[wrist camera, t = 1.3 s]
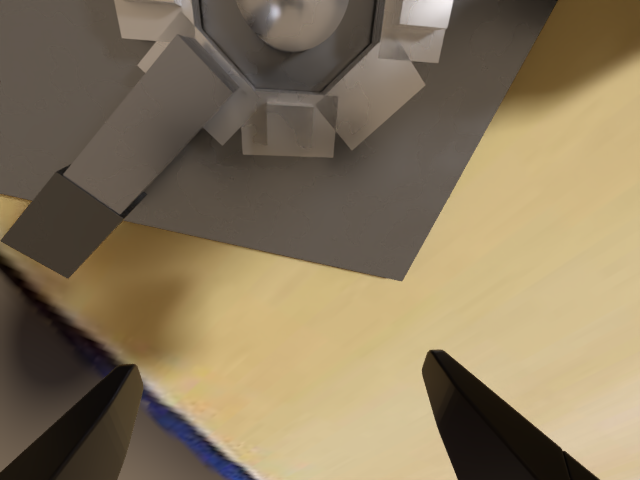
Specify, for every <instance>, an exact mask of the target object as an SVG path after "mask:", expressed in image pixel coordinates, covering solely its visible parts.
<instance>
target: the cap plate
mask: <svg viewBox="0 0 640 480" xmlns="http://www.w3.org/2000/svg"><path fill="white" fill-rule="evenodd" d="M557 1H558V0H453V4H452V9H451V14H450V18H449V23H448V27H447V29H446V30H445V34H444V39H443V44H442V48H441V53H440V57H439V62H438V63H421V62H412V64H413V65H414V67H415V69H416V70H417V72H418V73H419V75H420V77H421V78H422V80H423V82H424V83H425V86H424V87H423V88H422V89H421V90H420V91H418V92H417V93H416V94H415V95H414V96H413V97H412V98H411V99H409V100H408V101H407V102H406V103H405V104H404V105H403V106H402V107H400V108H399V109H398V110H397V111H396V112H395V113H394V114H393V115H391V116H390V117H389V118H388V119H387V120H386V121H385V122H384V123H382V124H381V125H380V126H379V127H378V128H377V129H376V130H375V131H373V132H372V133H371V134H370V135H369V136H368V137H367V138H366V139H364V140H363V141H362V142H361V143H360V144H359V145H358V146H357V147H355V148H354V149H353V150H351V149H350V148H349V147H348V145H347V144H346V143H345V142H344V141H343V139H342V138H341V137H340V136H339V134H338V133H337V132H336V131H335V142H334V154H333V158H329V157H300V156H271V155H243V151H242V133H241V127H240V128H239V129H238V130H237V131H236V132H235V133H234V134H233V135H232V136H231V137H230V138H229V139H228V141H227V142H226V143H225V144H224V145H223V146H222V145H221V144H220V143H219V142H218V141H217V140H216V139H215V138H214V137H213V136H211V135H210V134H209V133H208V132H207V131H206V130H205V129H204V128H202V129H201V130H200V131H199V132H198V133H197V134H196V135H195V136H194V137H193V139H192V140H191V141H190V142H189V143H188V144H187V145H186V146H185V147H184V148H183V149H182V150H181V152H180V153H179V154H178V155H177V156H176V157H175V158H174V159H173V160H172V161H171V162H170V163H169V164H168V166H167V167H166V168H165V169H164V170H163V171H162V172H161V173H160V174H159V175H158V176H157V177H156V178H155V180H154V181H153V182H152V183H151V184H150V185H149V186H148V187H147V188H146V189H145V190H144V192H145V193H146V194H147V195H146V196H145V198H144V199H143V200H142V201H141V202H140V203H139V204H138V205H137V206H136V207H135V208H134V209H133V210H132V211H131V212H130V214H129V215H128V216H127V217H126V218H125V219H124V220H123V221H128V222H133V223H137V224H142V225H146V226H151V227H155V228H160V229H165V230H169V231H174V232H178V233H183V234H188V235H192V236H197V237H201V238H206V239H210V240H215V241H220V242H224V243H229V244H233V245H238V246H242V247H247V248H252V249H256V250H261V251H265V252H270V253H275V254H279V255H284V256H288V257H293V258H297V259H302V260H307V261H311V262H316V263H320V264H325V265H330V266H334V267H339V268H343V269H348V270H352V271H357V272H362V273H366V274H371V275H375V276H380V277H384V278H389V279H394V280H398V281H403V279H404V277H405V275H406V274H407V272H408V270H409V268H410V266H411V265H412V263H413V261H414V259H415V257H416V255H417V254H418V252H419V250H420V248H421V246H422V245H423V243H424V241H425V239H426V237H427V236H428V234H429V232H430V230H431V228H432V227H433V225H434V223H435V221H436V219H437V218H438V216H439V214H440V212H441V210H442V209H443V207H444V205H445V203H446V201H447V199H448V198H449V196H450V194H451V192H452V190H453V189H454V187H455V185H456V183H457V181H458V180H459V178H460V176H461V174H462V172H463V171H464V169H465V167H466V165H467V163H468V162H469V160H470V158H471V156H472V154H473V153H474V151H475V149H476V147H477V145H478V143H479V142H480V140H481V138H482V136H483V134H484V133H485V131H486V129H487V127H488V125H489V124H490V122H491V120H492V118H493V116H494V115H495V113H496V111H497V109H498V107H499V106H500V104H501V102H502V100H503V98H504V97H505V95H506V93H507V91H508V89H509V87H510V86H511V84H512V82H513V80H514V78H515V77H516V75H517V73H518V71H519V69H520V68H521V66H522V64H523V62H524V60H525V59H526V57H527V55H528V53H529V51H530V50H531V48H532V46H533V44H534V42H535V41H536V39H537V37H538V35H539V33H540V31H541V30H542V28H543V26H544V24H545V22H546V21H547V19H548V17H549V15H550V13H551V12H552V10H553V8H554V6H555V4H556V3H557ZM376 4H377V0H199V7H200V18H201V28H202V29H203V31H204V32H205V33H206V34H207V35H208V36H209V37H210V38H211V39H212V41H213V42H214V43H215V44H216V45H217V46H218V47H219V48H220V49H221V51H222V52H223V53H224V54H225V55H226V56H227V57H228V58H229V59H230V61H231V62H232V63H233V64H234V65H235V66H236V67H237V68H238V69H239V71H240V72H241V73H242V74H243V75H244V76H245V77H246V78H247V79H248V81H249V82H250V83H251V84H252V85H253V86H254V87H255V88H256V89H272V90H288V91H304V92H320V93H321V92H322V91H323V90H324V89H325V88H326V87H327V86H328V85H329V84H330V83H331V82H332V81H333V80H334V79H335V78H336V77H337V76H339V75H340V74H341V73H342V72H343V71H344V70H345V69H346V68H347V67H348V66H349V65H350V64H351V63H352V62H353V61H354V60H355V59H356V58H357V57H358V56H359V55H360V54H361V53H362V52H363V51H364V50H365V49H366V48H367V47H368V46H369V45H370V44H371V43H372V37H373V28H374V20H375V12H376ZM154 44H155V42H154V41H141V40H131V39H124V38H122V37H121V32H120V27H119V22H118V17H117V12H116V7H115V2H114V0H0V194H4V195H9V196H13V197H18V198H23V199H27V200H32V201H33V200H34V198H35V197H36V196H37V195H38V193H39V192H40V191H41V190H42V188H43V187H44V186H45V185H46V183H47V182H48V181H49V180H50V178H51V177H52V176H53V175H54V173H55V172H56V171H58V170H60V169H62V168H64V167H66V166H68V165H70V164H72V163H73V162H74V160H75V159H76V158H77V157H78V155H79V154H80V153H81V152H82V151H83V149H84V148H85V147H86V146H87V144H88V143H89V142H90V141H91V139H92V138H93V137H94V136H95V135H96V133H97V132H98V131H99V130H100V128H101V127H102V126H103V125H104V123H105V122H106V121H107V120H108V119H109V117H110V116H111V115H112V114H113V112H114V111H115V110H116V109H117V107H118V106H119V105H120V104H121V103H122V101H123V100H124V99H125V98H126V96H127V95H128V94H129V93H130V91H131V90H132V89H133V88H134V87H135V85H136V84H137V83H138V82H139V80H140V79H141V78H142V77H143V75H144V74H145V72H144V71H143V70H142V69H140V68H139V67H138V66H137V65H138V64H139V62H140V61H141V60H142V59H143V57H144V56H145V55H146V54H147V52H148V51H149V50H150V49H151V47H152V46H153V45H154Z"/></svg>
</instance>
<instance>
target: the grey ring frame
mask: <svg viewBox="0 0 640 480" xmlns="http://www.w3.org/2000/svg"><path fill="white" fill-rule="evenodd" d="M114 2H115V7H116V12H117V17H118V22H119V27H120V32H121V37H122V38H124V39H131V40H141V41H154V42H155V44H154V45H153V46H152V47H151V49H150V50H149V51H148V52H147V54H146V55H145V56H144V57H143V59H142V60H141V61H140V62H139V64H138V65H137V66H138V67H139V68H140V69H142V70H143V71H144V72H145V74H144V75H143V77H142V78H141V79H140V80H139V82H138V83H137V84H136V85H135V87H134V88H133V89H132V90H131V91H130V93H129V94H128V95H127V96H126V98H125V99H124V100H123V101H122V103H121V104H120V105H119V106H118V107H117V109H116V110H115V111H114V112H113V114H112V115H111V116H110V117H109V119H108V120H107V121H106V122H105V123H104V125H103V126H102V127H101V128H100V130H99V131H98V132H97V133H96V135H95V136H94V137H93V138H92V139H91V141H90V142H89V143H88V144H87V146H86V147H85V148H84V149H83V151H82V152H81V153H80V154H79V155H78V157H77V158H76V159H75V160H74V162H73V163H72V164H70V165H68V166H66V167H64V168H62V169H60V170H58V171H56V172H55V173H54V175H53V176H52V177H51V178H50V180H49V181H48V182H47V183H46V185H45V186H44V187H43V188H42V190H41V191H40V192H39V193H38V195H37V196H36V197H35V198H34V200H33V201H32V202H31V203H30V205H29V206H28V207H27V208H26V210H25V211H24V212H23V213H22V215H21V216H20V217H19V218H18V220H17V221H16V222H15V223H14V225H13V226H12V227H11V228H10V230H9V231H8V232H7V233H6V235H5V236H4V237H3V238H2V240H1V242H3V243H5V244H7V245H8V246H10V247H12V248H14V249H16V250H17V251H19V252H21V253H23V254H25V255H26V256H28V257H30V258H32V259H34V260H35V261H37V262H39V263H41V264H42V265H44V266H46V267H48V268H50V269H51V270H53V271H55V272H57V273H59V274H60V275H62V276H64V277H66V278H69V277H70V276H71V275H72V274H73V273H74V272H75V271H76V270H77V269H78V268H79V267H80V266H81V265H82V264H83V262H84V261H85V260H86V259H87V258H88V257H89V256H90V255H91V254H92V253H93V252H94V251H95V250H96V249H97V248H98V247H99V246H100V245H101V244H102V242H103V241H104V240H105V239H106V238H107V237H108V236H109V235H110V234H111V233H112V232H113V231H114V230H115V229H116V227H117V226H118V225H119V224H120V223H121V222H122V221H123V220H124V219H125V218H126V217H127V216H128V215H129V214H130V212H131V211H132V210H133V209H134V208H135V207H136V206H137V205H138V204H139V203H140V202H141V201H142V200H143V199H144V198H145V196H146V195H147V194H146V193H145V192H144V190H145V189H146V188H147V187H148V186H149V185H150V184H151V183H152V182H153V181H154V180H155V178H156V177H157V176H158V175H159V174H160V173H161V172H162V171H163V170H164V169H165V168H166V167H167V166H168V164H169V163H170V162H171V161H172V160H173V159H174V158H175V157H176V156H177V155H178V154H179V153H180V152H181V150H182V149H183V148H184V147H185V146H186V145H187V144H188V143H189V142H190V141H191V140H192V139H193V137H194V136H195V135H196V134H197V133H198V132H199V131H200V130H201V129H202V128H204V129H205V130H206V131H207V132H208V133H209V134H210V135H211V136H213V137H214V138H215V139H216V140H217V141H218V142H219V143H220V144H221V145H222V146H223V145H224V144H225V143H226V142H227V141H228V139H229V138H230V137H231V136H232V135H233V134H234V133H235V132H236V131H237V130H238V129H239V128H240V127H241V133H242V151H243V155H271V156H300V157H329V158H333V154H334V142H335V131H336V132H337V133H338V134H339V136H340V137H341V138H342V139H343V141H344V142H345V143H346V144H347V145H348V147H349V148H350V149H351V150H353V149H354V148H355V147H357V146H358V145H359V144H360V143H361V142H362V141H363V140H364V139H366V138H367V137H368V136H369V135H370V134H371V133H372V132H373V131H375V130H376V129H377V128H378V127H379V126H380V125H381V124H382V123H384V122H385V121H386V120H387V119H388V118H389V117H390V116H391V115H393V114H394V113H395V112H396V111H397V110H398V109H399V108H400V107H402V106H403V105H404V104H405V103H406V102H407V101H408V100H409V99H411V98H412V97H413V96H414V95H415V94H416V93H417V92H418V91H420V90H421V89H422V88H423V87H424V86H425V83H424V82H423V80H422V78H421V77H420V75H419V73H418V72H417V70H416V69H415V67H414V65H413V64H412V62H421V63H438V62H439V57H440V53H441V48H442V44H443V39H444V34H445V30H446V29H447V27H448V23H449V18H450V14H451V9H452V4H453V0H377V4H376V12H375V20H374V28H373V37H372V43H371V44H370V45H369V46H368V47H367V48H366V49H365V50H364V51H363V52H362V53H361V54H360V55H359V56H358V57H357V58H356V59H355V60H354V61H353V62H352V63H351V64H350V65H349V66H348V67H347V68H346V69H345V70H344V71H343V72H342V73H341V74H340V75H339V76H337V77H336V78H335V79H334V80H333V81H332V82H331V83H330V84H329V85H328V86H327V87H326V88H325V89H324V90H323V91H322V92H321V93H320V92H304V91H288V90H272V89H256V88H255V87H254V86H253V85H252V84H251V83H250V82H249V81H248V79H247V78H246V77H245V76H244V75H243V74H242V73H241V72H240V71H239V69H238V68H237V67H236V66H235V65H234V64H233V63H232V62H231V61H230V59H229V58H228V57H227V56H226V55H225V54H224V53H223V52H222V51H221V49H220V48H219V47H218V46H217V45H216V44H215V43H214V42H213V41H212V39H211V38H210V37H209V36H208V35H207V34H206V33H205V32H204V31H203V29H202V28H201V18H200V7H199V0H114Z"/></svg>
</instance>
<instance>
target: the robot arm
mask: <svg viewBox="0 0 640 480" xmlns="http://www.w3.org/2000/svg"><path fill="white" fill-rule="evenodd" d="M422 375H423V379H424V383H425V386H426V390H427V393H428V397H429V400H430V404H431V407H432V410H433V414H434V417H435V421H436V424H437V427H438V430H439V433H440V435H441V438H442V440H443V443H444V446H445V448H446V451H447V453H448V456H449V458H450V461H451V463H452V466H453V468H454V471H455V473H456V476H457V478H458V480H600V479H599V478H597V477H596V476H595V475H594V474H592V473H591V472H590V471H589V470H587V469H586V468H585V467H584V466H582V465H581V464H580V463H579V462H578V461H576V460H575V459H574V458H573V457H571V456H570V455H569V454H568V453H567V452H565V451H562V449H561V447H559V446H558V445H557V444H556V443H554V442H553V441H552V440H551V439H550V438H548V437H547V436H546V435H545V434H544V433H542V432H541V431H540V430H539V429H538V428H536V427H535V426H534V425H533V424H532V423H530V422H529V421H528V420H527V419H526V418H524V417H523V416H522V415H521V414H520V413H518V412H517V411H516V410H515V409H514V408H512V407H511V406H510V405H509V404H508V403H506V402H505V401H504V400H503V399H502V398H500V397H499V396H498V395H497V394H496V393H494V392H493V391H492V390H491V389H490V388H488V387H487V386H486V385H485V384H483V383H482V382H481V381H480V380H479V379H477V378H476V377H475V376H474V375H473V374H471V373H470V372H469V371H468V370H467V369H465V368H464V367H463V366H462V365H461V364H459V363H458V362H457V361H456V360H455V359H453V358H452V357H451V356H450V355H449V354H447V353H446V352H445V351H443V350H429V351H428V353H427V355H426V358H425V361H424V364H423V367H422ZM142 392H143V382H142V379H141V376H140V372H139V369H138V367H137V365H136V364H122V365H119V366H117V367H116V368H115V369H114V370H112V371H111V372H110V373H109V374H108V375H107V376H106V377H105V378H104V379H103V380H101V381H100V382H99V383H98V384H97V385H96V386H95V387H94V388H93V389H92V390H91V391H89V392H88V393H87V394H86V395H85V396H84V397H83V398H82V399H81V400H80V401H79V402H77V403H76V404H75V405H74V406H73V407H72V408H71V409H70V410H69V411H67V412H66V413H65V414H64V415H63V416H62V417H61V418H60V419H59V420H57V422H55V423H54V424H53V425H52V426H51V427H50V428H49V429H48V430H47V431H45V432H44V433H43V434H42V435H41V436H40V437H39V438H38V439H37V440H35V441H34V442H33V443H32V444H31V445H30V446H29V447H28V448H27V449H26V450H24V451H23V452H22V453H21V454H20V455H19V456H18V457H17V458H16V459H15V460H13V461H12V463H10V464H9V465H8V466H7V467H6V468H5V469H4V470H2V472H0V480H117V479H118V476H119V473H120V471H121V468H122V465H123V462H124V459H125V457H126V453H127V450H128V447H129V443H130V439H131V435H132V431H133V427H134V424H135V420H136V416H137V412H138V408H139V404H140V400H141V396H142Z"/></svg>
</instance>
